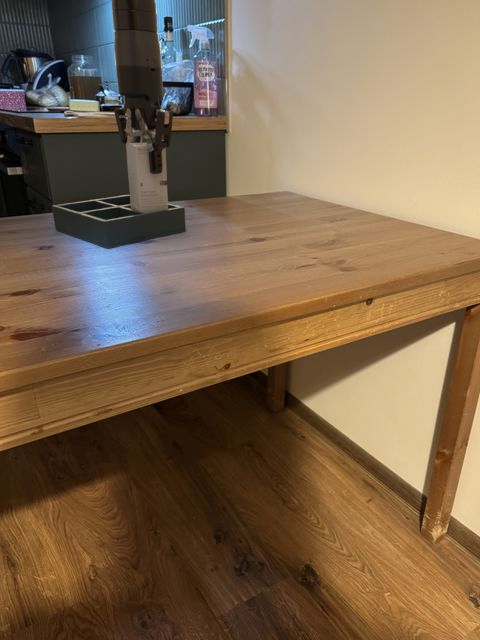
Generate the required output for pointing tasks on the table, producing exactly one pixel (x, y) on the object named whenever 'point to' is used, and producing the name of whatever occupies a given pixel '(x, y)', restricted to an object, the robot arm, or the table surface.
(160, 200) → the cosmetic box
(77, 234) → the grid
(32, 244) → the table surface
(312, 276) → the table surface
